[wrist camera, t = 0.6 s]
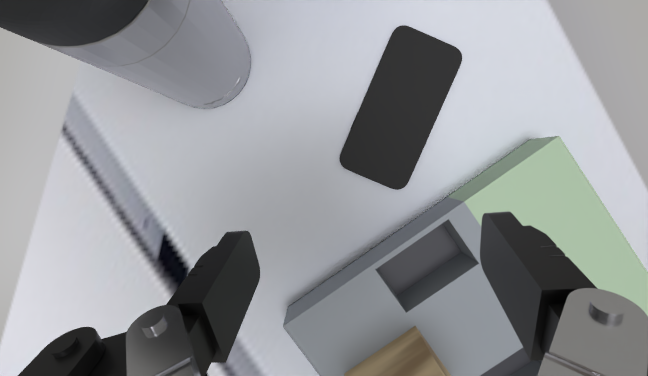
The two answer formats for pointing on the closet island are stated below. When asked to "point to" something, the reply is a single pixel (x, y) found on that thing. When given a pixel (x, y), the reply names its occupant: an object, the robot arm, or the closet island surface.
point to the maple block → (402, 359)
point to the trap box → (464, 271)
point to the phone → (400, 107)
